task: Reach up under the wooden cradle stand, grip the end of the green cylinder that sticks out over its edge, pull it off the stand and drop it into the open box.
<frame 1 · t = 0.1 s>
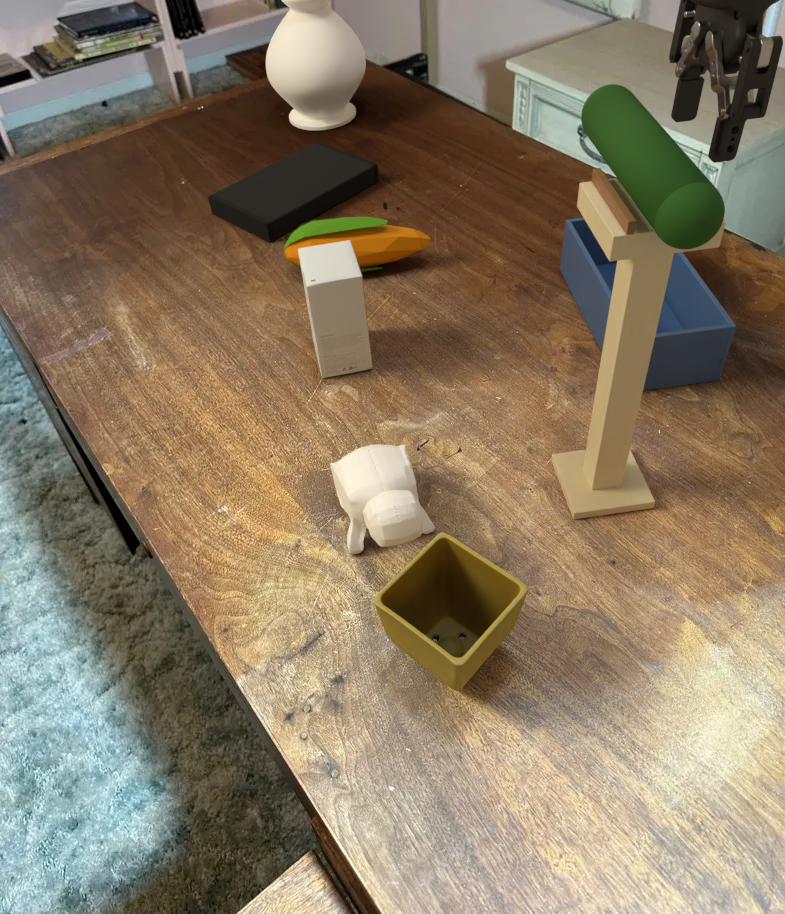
hand: (701, 139, 69), 26 cm above the table, tool pointing down, fingers open, 8 cm apart
external hard drive: (297, 198, 122), on the table
green cylinder: (639, 188, 57), point 30 cm above the table, touching wooden cradle stand
decorative vase: (322, 117, 143), on the table
open box: (632, 320, 94), on the table
wooden cradle stand: (597, 476, 77), on the table
flower pot: (452, 653, 65), on the table
white animal figurine: (384, 523, 75), on the table
small box: (342, 355, 94), on the table
corn: (360, 267, 107), on the table
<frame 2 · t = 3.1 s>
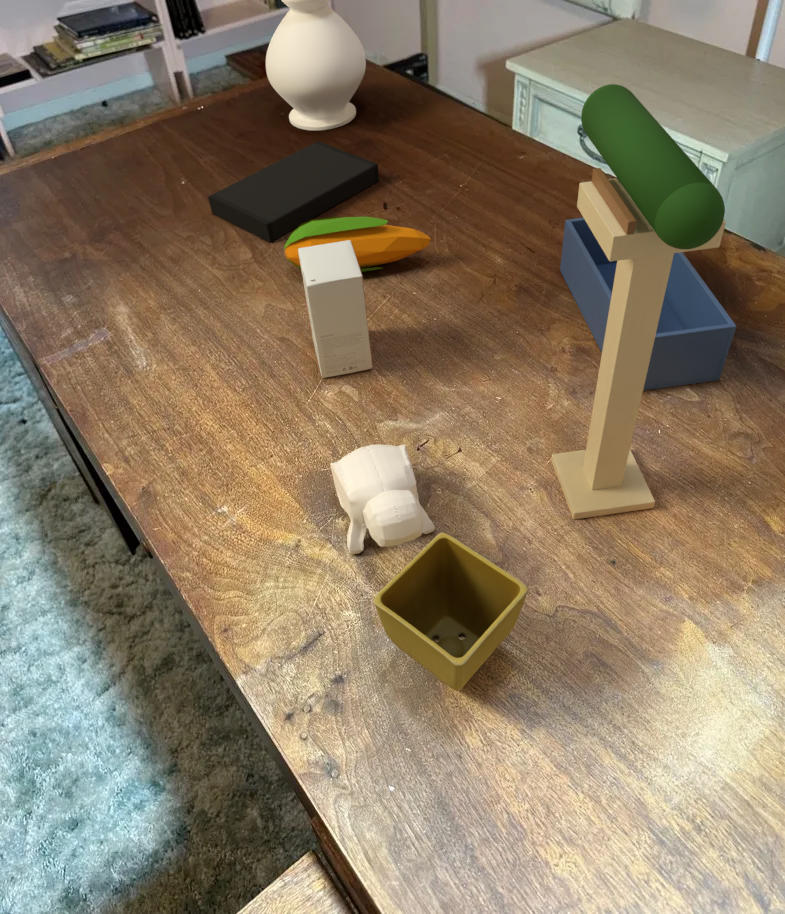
nothing on the table moved.
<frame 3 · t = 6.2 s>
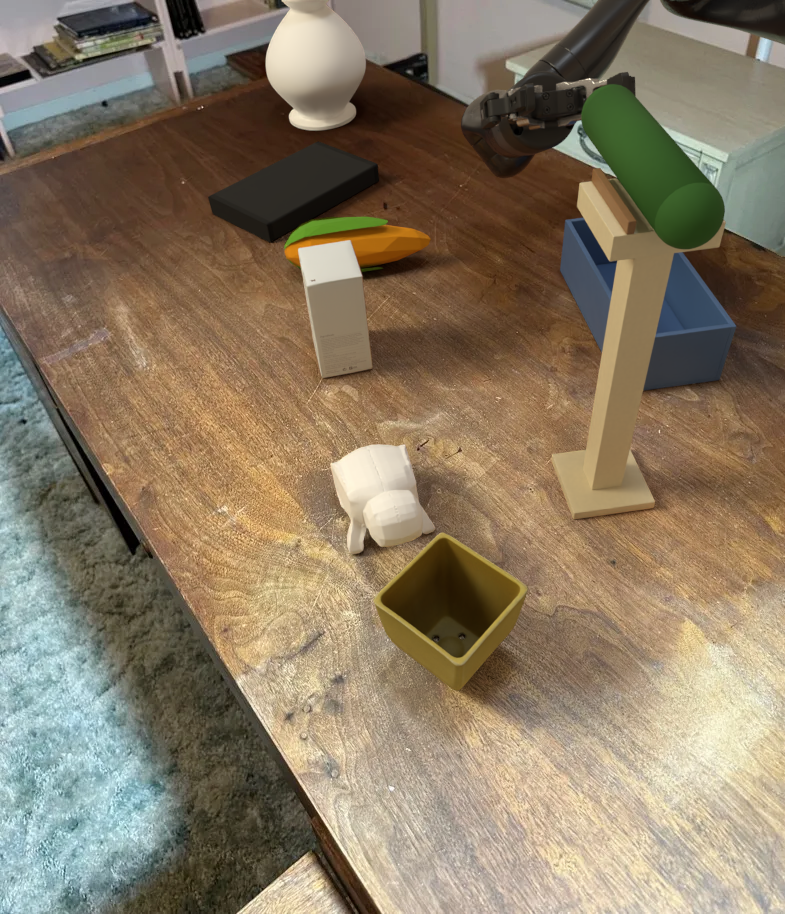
hand: (578, 90, 67), 31 cm above the table, tool pointing upward, fingers open, 8 cm apart
nothing on the table moved.
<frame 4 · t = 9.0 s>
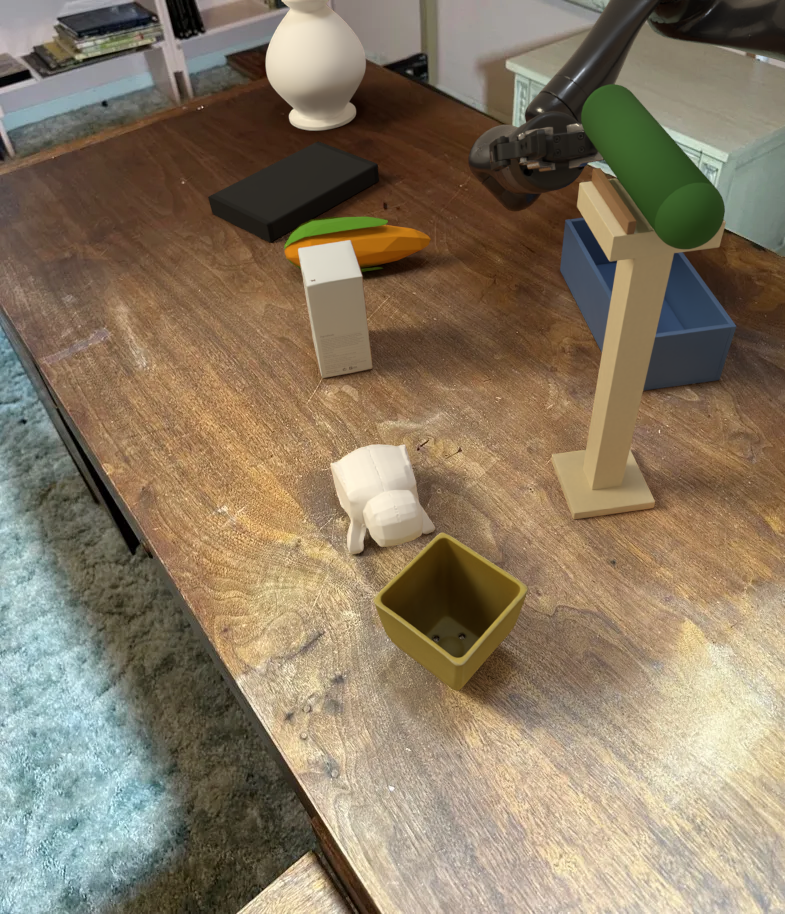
hand: (590, 136, 66), 29 cm above the table, tool pointing upward, fingers open, 8 cm apart
nothing on the table moved.
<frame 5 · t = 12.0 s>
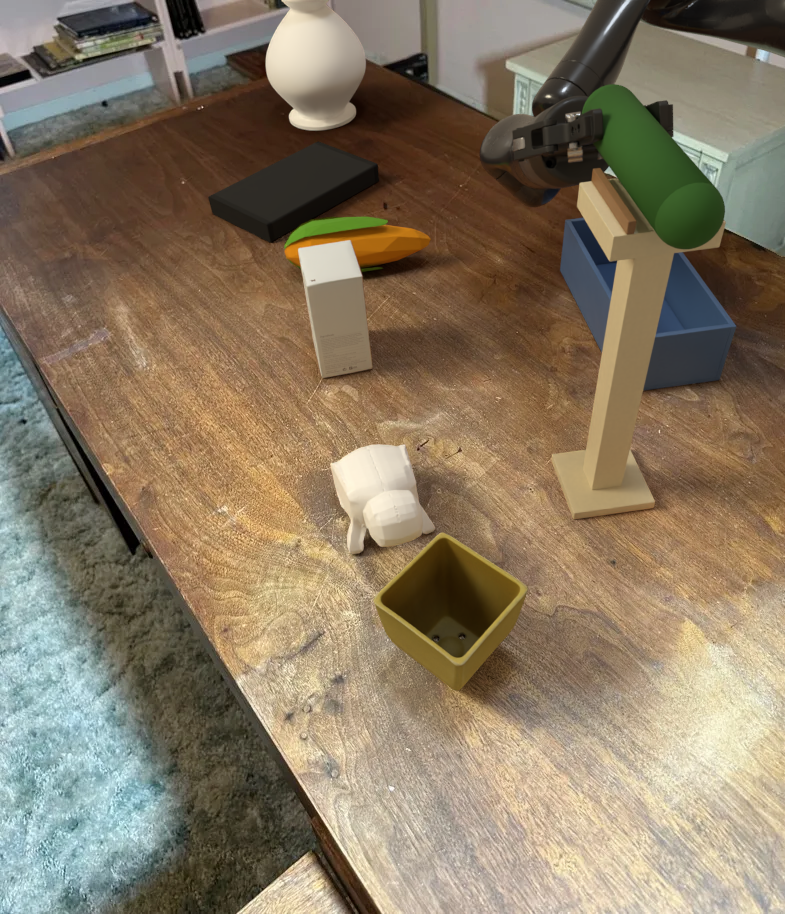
hand: (630, 120, 57), 34 cm above the table, tool pointing upward, fingers closed on green cylinder, 4 cm apart
green cylinder: (639, 188, 57), point 30 cm above the table, touching gripper, wooden cradle stand
everything else where it was.
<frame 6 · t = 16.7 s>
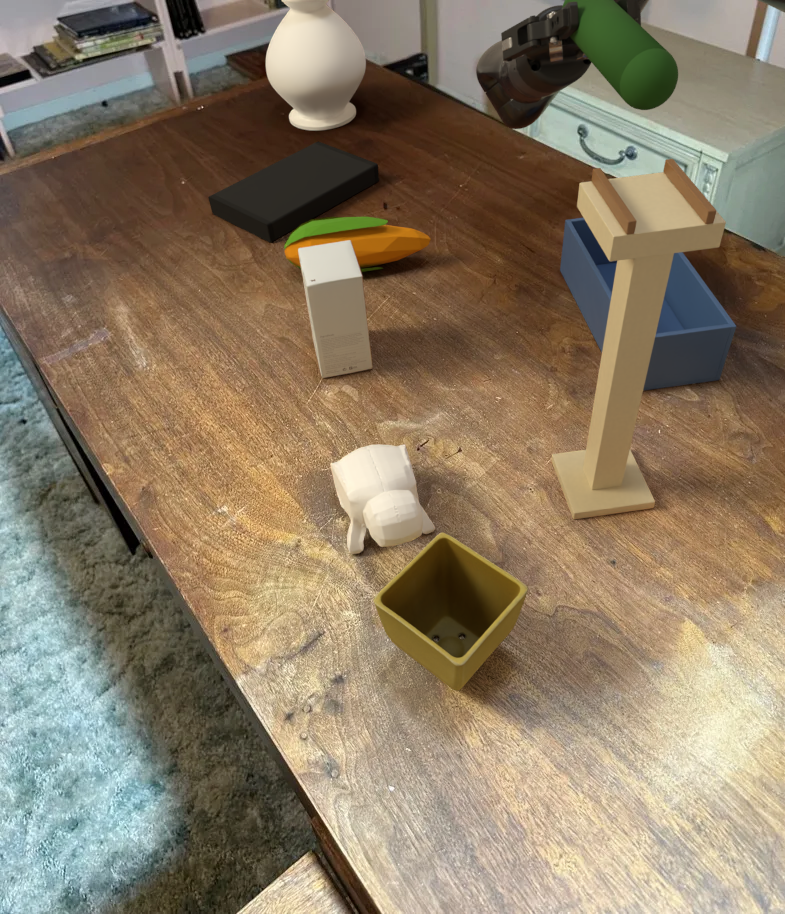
hand: (602, 11, 66), 36 cm above the table, tool pointing upward, fingers closed on green cylinder, 4 cm apart
green cylinder: (610, 70, 66), point 33 cm above the table, touching gripper
everything else where it was.
when the fingers open (22 cm above the table, at t = 21.9 s): green cylinder drops 18 cm, resting on open box.
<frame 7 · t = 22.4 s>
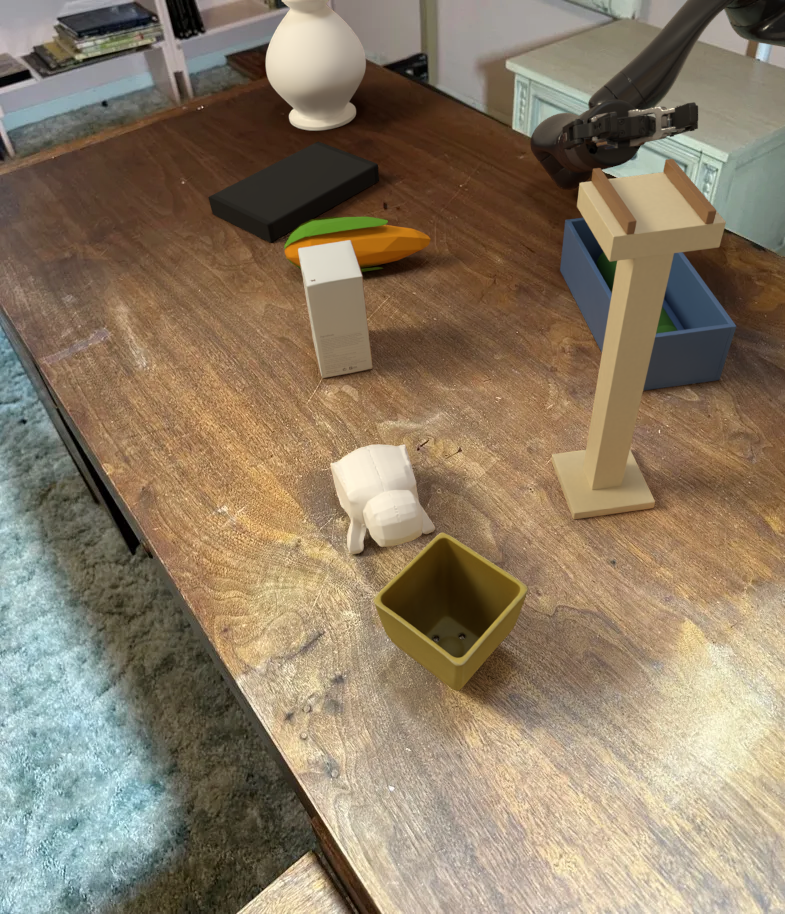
hand: (653, 118, 81), 23 cm above the table, tool pointing upward, fingers open, 8 cm apart
green cylinder: (632, 315, 94), resting on open box
everything else where it was.
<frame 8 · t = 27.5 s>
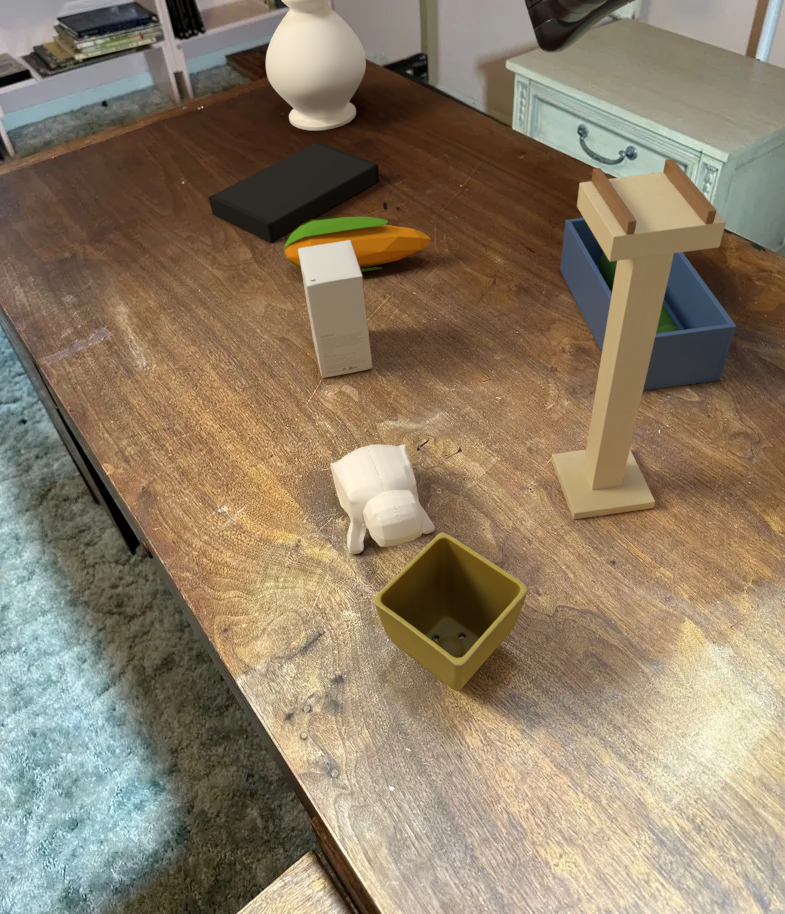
green cylinder: (632, 315, 94), point 1 cm above the table, tilted 8°, touching open box
everything else where it was.
at the end: green cylinder inside the target area in the open box (0.3 cm from its centre), point 0.5 cm above the open box's base; the gripper is holding nothing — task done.
